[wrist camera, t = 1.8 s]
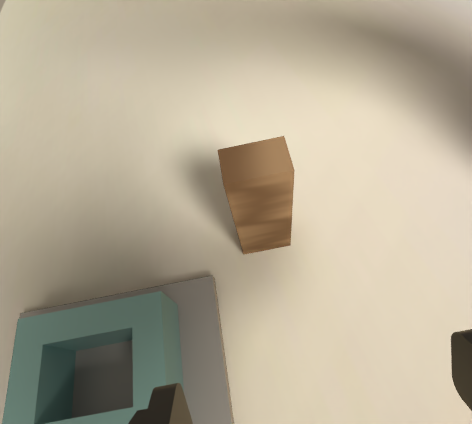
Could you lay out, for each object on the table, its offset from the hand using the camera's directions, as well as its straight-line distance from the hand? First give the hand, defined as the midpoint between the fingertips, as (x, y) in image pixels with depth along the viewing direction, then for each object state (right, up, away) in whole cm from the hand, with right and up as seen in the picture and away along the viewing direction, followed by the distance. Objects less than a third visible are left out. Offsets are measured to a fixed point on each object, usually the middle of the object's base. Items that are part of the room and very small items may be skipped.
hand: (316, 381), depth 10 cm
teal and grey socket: (-11, -7, +15) cm, 20 cm away
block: (0, +3, +19) cm, 19 cm away
